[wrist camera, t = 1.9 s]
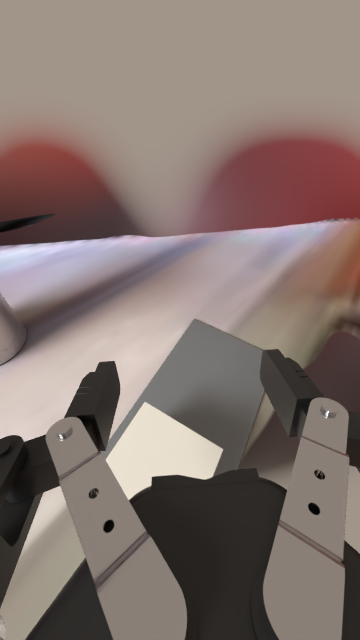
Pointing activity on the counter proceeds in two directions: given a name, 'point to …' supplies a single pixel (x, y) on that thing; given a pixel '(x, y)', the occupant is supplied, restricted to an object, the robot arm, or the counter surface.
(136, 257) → the counter surface
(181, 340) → the rubber mat
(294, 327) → the counter surface
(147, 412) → the off-white cube
